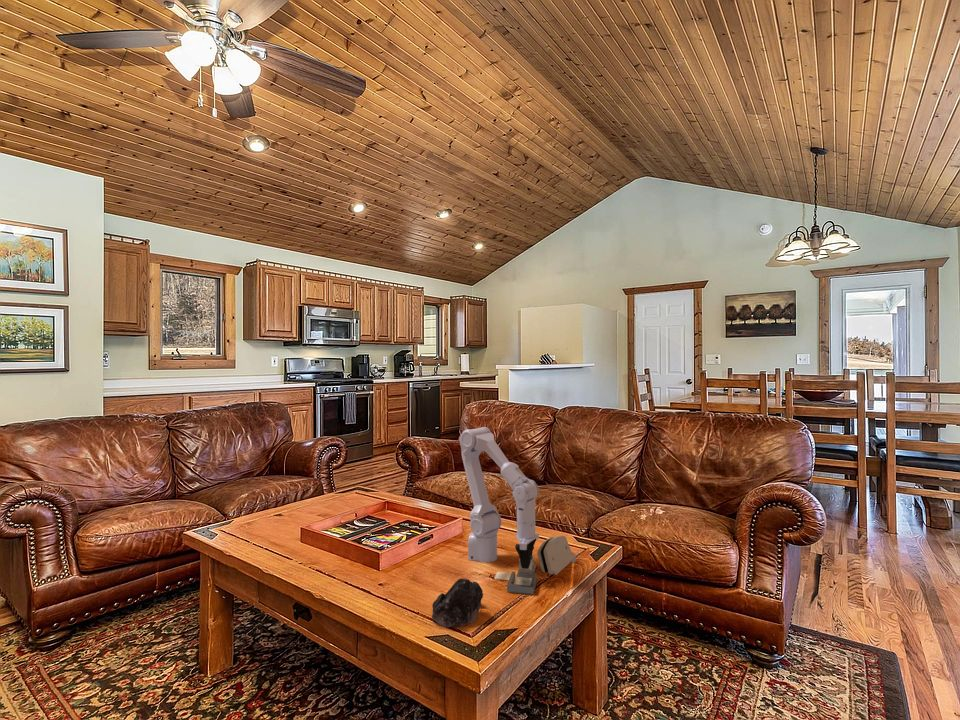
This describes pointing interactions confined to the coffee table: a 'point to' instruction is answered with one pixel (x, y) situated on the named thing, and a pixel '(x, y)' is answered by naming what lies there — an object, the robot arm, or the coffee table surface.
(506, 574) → the pad
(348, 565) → the coffee table surface
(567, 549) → the grey rounded housing
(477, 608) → the black rock
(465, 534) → the coffee table surface
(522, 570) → the block
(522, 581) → the flange rail
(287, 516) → the coffee table surface
